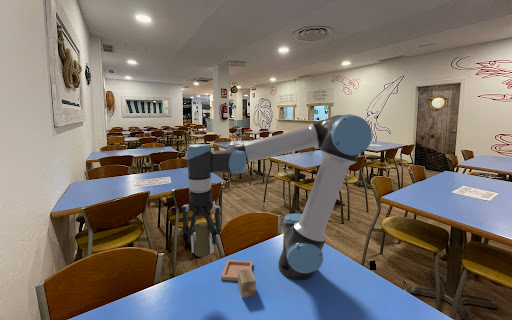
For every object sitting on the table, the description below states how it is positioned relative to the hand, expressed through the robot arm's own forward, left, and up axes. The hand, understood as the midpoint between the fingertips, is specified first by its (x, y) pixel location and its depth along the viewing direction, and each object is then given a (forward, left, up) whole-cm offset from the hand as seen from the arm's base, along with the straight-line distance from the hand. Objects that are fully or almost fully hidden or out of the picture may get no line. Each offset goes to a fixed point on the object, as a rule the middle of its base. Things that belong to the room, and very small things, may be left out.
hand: (203, 251), depth 87 cm
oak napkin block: (-16, 0, -15) cm, 21 cm away
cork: (0, 0, -1) cm, 1 cm away
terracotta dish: (-11, -10, -14) cm, 21 cm away
